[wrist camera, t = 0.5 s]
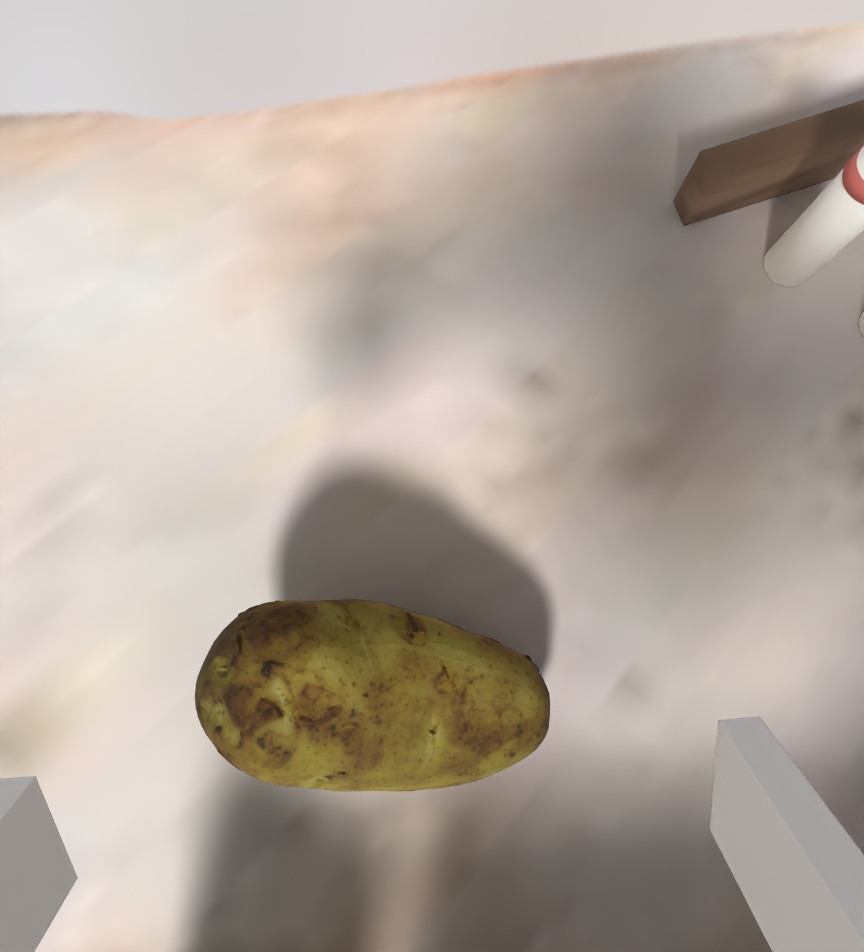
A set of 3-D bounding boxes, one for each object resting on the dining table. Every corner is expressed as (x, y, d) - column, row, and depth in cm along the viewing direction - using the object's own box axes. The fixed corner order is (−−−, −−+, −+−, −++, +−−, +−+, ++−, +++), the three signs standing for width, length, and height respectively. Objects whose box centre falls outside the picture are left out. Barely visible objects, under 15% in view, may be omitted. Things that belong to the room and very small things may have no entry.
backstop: (940, 144, 30) (1002, 87, 26) (684, 225, 30) (713, 178, 26) (926, 121, 30) (986, 61, 27) (673, 201, 30) (700, 151, 27)
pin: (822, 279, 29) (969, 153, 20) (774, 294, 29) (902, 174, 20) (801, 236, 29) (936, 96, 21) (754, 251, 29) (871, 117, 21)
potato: (478, 848, 25) (486, 969, 17) (226, 702, 26) (126, 751, 19) (560, 668, 26) (602, 704, 18) (313, 539, 28) (255, 521, 20)
